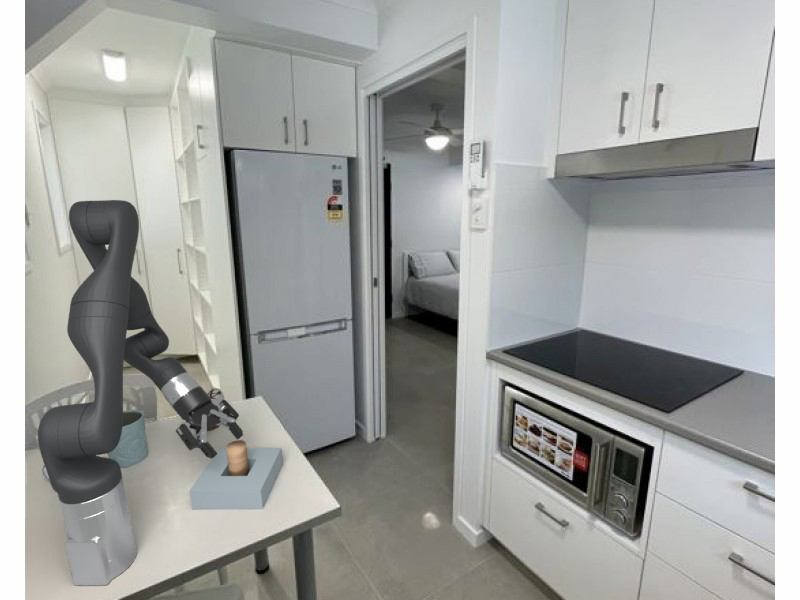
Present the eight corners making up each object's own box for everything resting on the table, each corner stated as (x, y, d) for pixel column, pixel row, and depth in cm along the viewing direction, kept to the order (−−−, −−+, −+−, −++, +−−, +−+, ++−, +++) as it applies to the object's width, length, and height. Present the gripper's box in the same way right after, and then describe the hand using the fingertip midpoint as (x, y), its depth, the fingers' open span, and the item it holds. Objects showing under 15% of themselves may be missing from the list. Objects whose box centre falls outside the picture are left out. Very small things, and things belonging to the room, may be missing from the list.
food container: (215, 435, 119) (211, 405, 117) (195, 435, 120) (191, 405, 117) (233, 414, 131) (230, 386, 129) (215, 414, 132) (211, 386, 129)
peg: (246, 491, 96) (241, 450, 93) (228, 491, 96) (223, 451, 93) (253, 479, 100) (248, 440, 98) (235, 479, 100) (230, 440, 98)
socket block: (262, 508, 90) (260, 489, 89) (192, 509, 90) (189, 490, 89) (283, 464, 106) (281, 447, 105) (222, 464, 106) (220, 447, 105)
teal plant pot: (146, 464, 106) (139, 424, 103) (101, 474, 103) (92, 432, 100) (153, 444, 115) (147, 406, 113) (112, 452, 112) (104, 413, 109)
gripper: (167, 400, 90) (212, 455, 89) (215, 375, 103) (256, 423, 102) (153, 417, 93) (197, 471, 92) (202, 391, 106) (241, 438, 105)
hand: (228, 446), depth 97 cm, fingers open, 8 cm apart
